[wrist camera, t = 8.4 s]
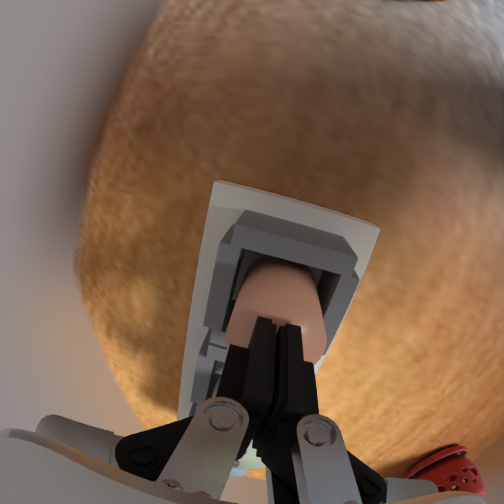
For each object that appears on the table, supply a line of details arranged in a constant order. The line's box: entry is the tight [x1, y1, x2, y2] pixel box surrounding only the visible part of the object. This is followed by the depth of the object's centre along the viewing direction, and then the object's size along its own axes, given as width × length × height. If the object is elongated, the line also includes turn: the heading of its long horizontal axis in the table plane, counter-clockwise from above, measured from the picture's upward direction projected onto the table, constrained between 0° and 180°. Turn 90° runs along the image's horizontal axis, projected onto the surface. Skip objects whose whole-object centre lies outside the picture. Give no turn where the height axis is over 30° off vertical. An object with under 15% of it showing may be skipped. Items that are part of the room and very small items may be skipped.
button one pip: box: [225, 255, 327, 365], centre depth 13 cm, size 4×4×5 cm
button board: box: [177, 180, 381, 421], centre depth 18 cm, size 23×10×5 cm, turn 166°
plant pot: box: [406, 446, 485, 496], centre depth 21 cm, size 13×13×12 cm
